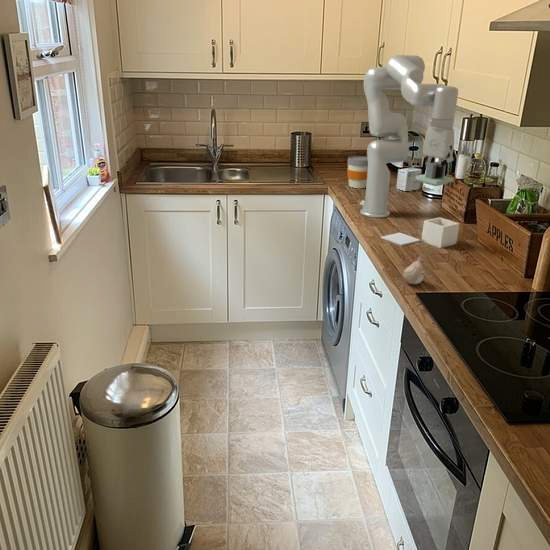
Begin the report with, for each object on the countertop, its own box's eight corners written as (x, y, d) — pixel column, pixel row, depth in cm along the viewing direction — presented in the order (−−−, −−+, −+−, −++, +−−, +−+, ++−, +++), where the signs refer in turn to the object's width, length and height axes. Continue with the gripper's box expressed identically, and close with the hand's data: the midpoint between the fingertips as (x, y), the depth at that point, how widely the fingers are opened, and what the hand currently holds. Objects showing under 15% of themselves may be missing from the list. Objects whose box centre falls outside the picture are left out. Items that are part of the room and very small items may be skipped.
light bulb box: (410, 187, 292) (412, 167, 288) (419, 190, 287) (422, 169, 282) (395, 189, 286) (397, 168, 282) (405, 192, 281) (407, 171, 277)
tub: (421, 241, 210) (424, 220, 207) (437, 237, 214) (439, 217, 211) (440, 248, 203) (443, 227, 200) (456, 244, 208) (459, 223, 205)
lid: (414, 181, 202) (417, 161, 199) (431, 178, 207) (434, 159, 204) (435, 187, 195) (438, 166, 192) (452, 184, 200) (455, 164, 198)
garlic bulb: (427, 285, 170) (431, 261, 167) (409, 288, 168) (412, 263, 165) (415, 277, 176) (418, 254, 173) (397, 280, 174) (400, 256, 171)
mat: (380, 238, 212) (380, 236, 212) (399, 233, 218) (399, 232, 217) (401, 245, 204) (401, 244, 204) (420, 241, 210) (420, 239, 210)
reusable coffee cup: (343, 188, 285) (345, 159, 279) (348, 183, 296) (350, 155, 290) (367, 191, 281) (370, 161, 276) (371, 186, 292) (374, 157, 287)
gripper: (416, 121, 197) (410, 173, 204) (454, 127, 185) (446, 182, 192) (430, 120, 201) (423, 171, 208) (468, 126, 189) (460, 179, 196)
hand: (434, 175), depth 200 cm, fingers closed on lid, 2 cm apart
